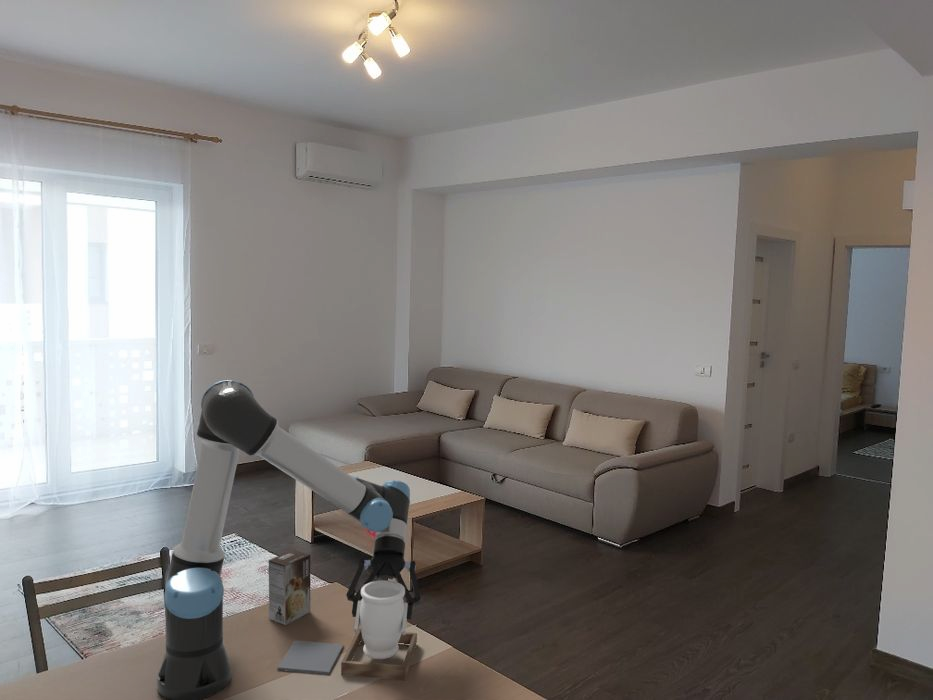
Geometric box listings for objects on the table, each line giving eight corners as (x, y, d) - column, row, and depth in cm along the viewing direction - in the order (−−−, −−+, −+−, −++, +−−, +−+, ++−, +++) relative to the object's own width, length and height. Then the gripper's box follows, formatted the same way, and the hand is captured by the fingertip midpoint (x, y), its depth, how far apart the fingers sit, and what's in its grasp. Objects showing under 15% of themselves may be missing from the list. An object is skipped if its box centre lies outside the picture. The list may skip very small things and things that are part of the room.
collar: (341, 675, 158) (341, 662, 158) (358, 639, 174) (358, 628, 174) (405, 680, 157) (405, 667, 157) (416, 644, 173) (416, 633, 172)
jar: (395, 665, 159) (397, 602, 158) (352, 658, 161) (353, 596, 160) (408, 642, 170) (410, 582, 168) (367, 636, 172) (369, 577, 170)
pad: (277, 669, 160) (277, 667, 160) (295, 642, 172) (295, 640, 171) (329, 674, 159) (329, 671, 158) (343, 646, 170) (343, 644, 170)
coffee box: (293, 605, 191) (294, 548, 189) (311, 612, 187) (311, 554, 186) (267, 619, 183) (267, 559, 181) (285, 626, 179) (285, 565, 178)
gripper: (436, 549, 179) (429, 639, 165) (346, 545, 179) (332, 635, 165) (435, 536, 173) (429, 629, 159) (343, 532, 173) (328, 624, 159)
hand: (380, 632), depth 162 cm, fingers closed on jar, 10 cm apart
